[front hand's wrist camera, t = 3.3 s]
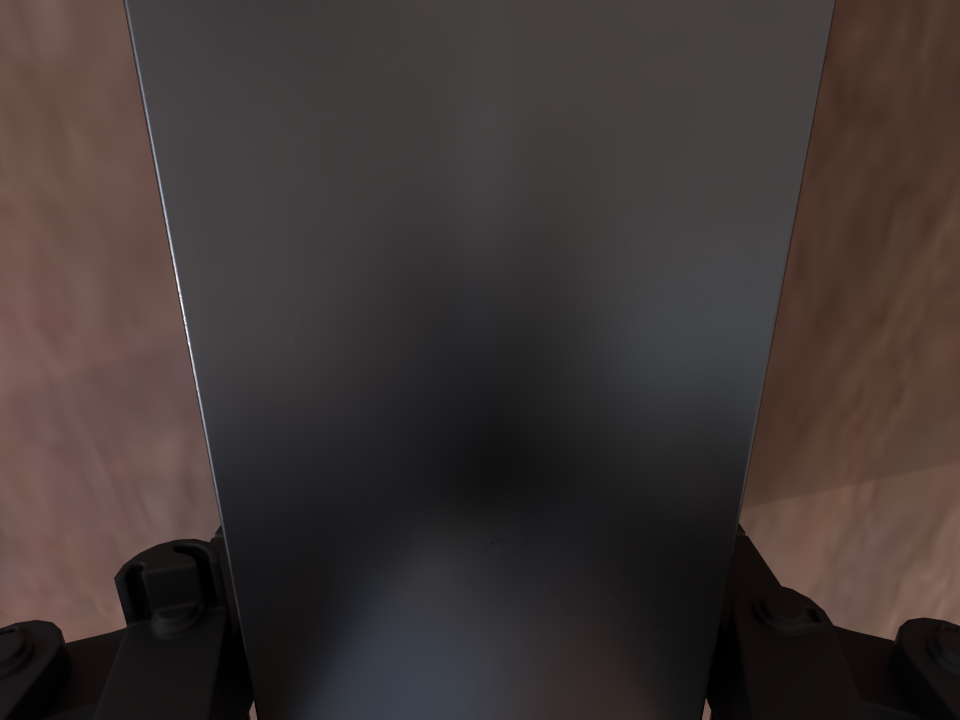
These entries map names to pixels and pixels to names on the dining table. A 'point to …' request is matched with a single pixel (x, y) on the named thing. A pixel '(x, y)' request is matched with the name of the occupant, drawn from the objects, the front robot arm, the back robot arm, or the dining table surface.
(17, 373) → the dining table surface
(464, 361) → the bar
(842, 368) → the dining table surface
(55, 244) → the dining table surface
